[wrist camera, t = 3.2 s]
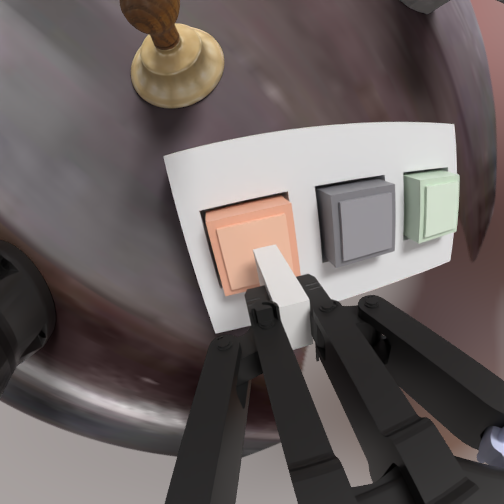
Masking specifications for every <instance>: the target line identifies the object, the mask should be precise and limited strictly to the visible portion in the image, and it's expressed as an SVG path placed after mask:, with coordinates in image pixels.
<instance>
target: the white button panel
mask: <svg viewBox="0 0 504 504" xmlns="http://www.w3.org/2000/svg"><path fill="white" fill-rule="evenodd" d="M163 157H164V161H165V166H166V170H167V174H168V178H169V182H170V186H171V190H172V194H173V197H174V201H175V205H176V209H177V212H178V216H179V220H180V223H181V227H182V230H183V234H184V237H185V241H186V244H187V248H188V251H189V254H190V258H191V261H192V264H193V267H194V271H195V274H196V277H197V280H198V283H199V286H200V289H201V292H202V296H203V299H204V302H205V305H206V308H207V310H208V313H209V316H210V319H211V322H212V325H213V328H214V331H215V334H216V333H220V332H225V331H229V330H234V329H238V328H242V327H246V326H251V322H250V318H249V314H248V309H247V304H246V300H245V296H244V295H245V293H246V292H242V293H238V294H233V295H229V296H225V293H224V289H223V286H222V282H221V279H220V275H219V271H218V268H217V264H216V260H215V256H214V253H213V249H212V245H211V241H210V237H209V233H208V230H207V226H206V211H209V210H213V209H218V208H222V207H226V206H230V205H235V204H239V203H244V202H248V201H253V200H257V199H262V198H267V197H272V196H277V195H281V196H283V197H284V198H285V199H287V200H288V201H289V202H291V204H292V211H293V218H294V225H295V233H296V240H297V248H298V256H299V265H300V273H301V275H305V274H310V275H312V276H314V277H315V278H316V279H317V280H318V282H319V283H320V285H321V286H322V287H323V289H324V290H325V291H326V293H327V294H328V296H329V297H330V298H331V299H333V300H336V301H341V300H344V299H347V298H350V297H353V296H356V295H359V294H362V293H366V292H368V291H371V290H374V289H377V288H380V287H383V286H386V285H388V284H391V283H394V282H397V281H400V280H403V279H405V278H408V277H410V276H413V275H416V274H418V273H421V272H424V271H426V270H429V269H431V268H434V267H436V266H439V265H441V264H444V263H446V262H449V261H450V258H451V250H452V243H453V234H454V232H453V233H450V234H447V235H444V236H441V237H438V238H435V239H432V240H429V241H425V242H422V243H419V244H418V243H417V242H415V241H413V240H412V239H410V238H408V237H407V236H405V235H403V231H404V183H403V174H406V173H414V172H422V171H431V170H443V171H447V172H451V173H454V174H457V163H456V141H455V129H454V124H444V123H428V122H371V123H351V124H337V125H325V126H315V127H306V128H298V129H290V130H283V131H276V132H270V133H263V134H257V135H252V136H246V137H241V138H236V139H231V140H226V141H221V142H216V143H212V144H208V145H203V146H199V147H195V148H191V149H187V150H183V151H179V152H175V153H172V154H169V155H166V156H163ZM371 178H377V179H380V180H384V181H387V182H390V183H393V184H395V201H396V227H395V251H393V252H390V253H387V254H383V255H380V256H377V257H373V258H370V259H366V260H363V261H360V262H356V263H353V264H349V265H345V266H342V267H338V268H335V267H334V266H333V265H332V264H331V263H330V262H329V260H328V259H327V258H326V257H325V256H324V255H323V254H322V248H321V237H320V226H319V216H318V207H317V198H316V190H315V188H318V187H323V186H329V185H335V184H340V183H346V182H352V181H359V180H365V179H371Z"/></svg>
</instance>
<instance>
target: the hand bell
mask: <svg viewBox="0 0 504 504" xmlns="http://www.w3.org/2000/svg"><path fill="white" fill-rule="evenodd" d="M120 7H121V10H122V13H123V14H124V16H125V17H126V19H127V20H128V22H129V23H130V24H131V25H132V26H134V27H135V28H136V29H138V30H139V31H141V32H143V33H146V34H149V35H148V36H147V37H146V38H145V40H144V42H143V44H142V46H141V47H140V48H139V50H138V51H137V53H136V55H135V57H134V59H133V62H132V66H131V79H132V83H133V86H134V88H135V90H136V91H137V93H138V94H139V95H140V96H141V97H142V98H143V99H144V100H145V101H147V102H149V103H150V104H152V105H155V106H158V107H162V108H181V107H185V106H189V105H192V104H194V103H196V102H198V101H200V100H202V99H203V98H204V97H206V96H207V95H208V94H209V93H210V92H211V91H212V90H213V89H214V88H215V87H216V85H217V84H218V82H219V81H220V79H221V76H222V73H223V69H224V56H223V52H222V49H221V47H220V45H219V44H218V42H217V41H216V40H215V39H214V38H213V37H212V36H211V35H209V34H208V33H206V32H204V31H202V30H200V29H196V28H192V27H189V26H187V25H183V24H175V22H176V20H177V17H178V14H179V8H180V0H120Z"/></svg>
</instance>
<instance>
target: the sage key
mask: <svg viewBox="0 0 504 504" xmlns="http://www.w3.org/2000/svg"><path fill="white" fill-rule="evenodd" d="M403 183H404V231H403V235H405V236H407V237H408V238H410V239H412V240H413V241H415V242H417V243H418V244H419V243H422V242H425V241H429V240H432V239H435V238H438V237H441V236H444V235H447V234H450V233H453V232H456V230H457V220H458V205H459V175H458V174H454V173H451V172H447V171H443V170H431V171H422V172H414V173H406V174H403Z"/></svg>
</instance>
